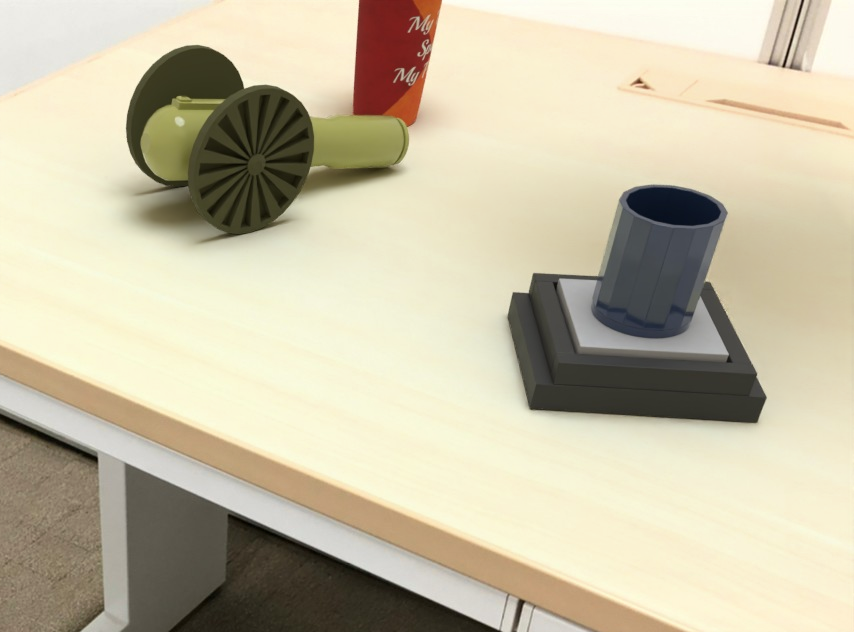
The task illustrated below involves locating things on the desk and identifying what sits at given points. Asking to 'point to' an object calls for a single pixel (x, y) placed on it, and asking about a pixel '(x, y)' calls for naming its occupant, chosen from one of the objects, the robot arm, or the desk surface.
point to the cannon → (243, 139)
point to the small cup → (657, 260)
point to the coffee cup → (393, 56)
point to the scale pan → (602, 340)
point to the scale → (627, 367)
